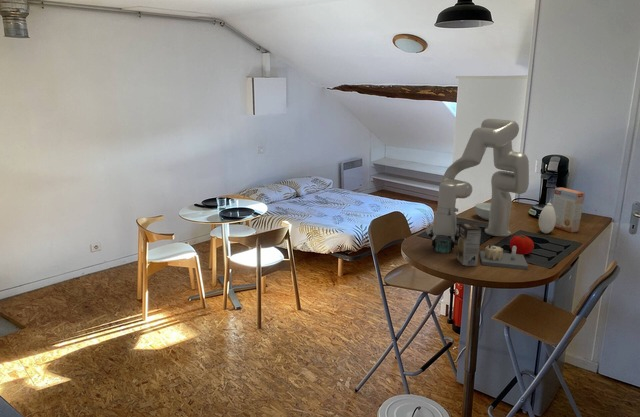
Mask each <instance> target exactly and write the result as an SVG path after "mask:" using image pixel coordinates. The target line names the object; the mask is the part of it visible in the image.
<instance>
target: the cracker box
mask: <svg viewBox="0 0 640 417" xmlns="http://www.w3.org/2000/svg"><path fill="white" fill-rule="evenodd" d="M553 192H554V194H553V200H552V206H553V208H554V210H555V214H556V223H555V226H554V228H556V229H559V230H562V231H565V232H567V233H579V230H580V224H581V218H582V212H583V205H584V199H585V192H583V191H579V190H576V189H575V190H574V189H570V188H566V187H560V186H559V187H554V191H553Z"/></svg>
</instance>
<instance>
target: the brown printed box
mask: <svg viewBox="0 0 640 417" xmlns="http://www.w3.org/2000/svg"><path fill="white" fill-rule="evenodd" d="M458 229H459V233H458V234H457V235H458V239H457V246H456V258H455V259H457V260H458V261H459V263H460V264H461V265H462V266H463V265H465V266H470V267H471V266H473V267H475V266H478V262H479V261H478V260H479V255H480V245H481V244H480V243H481V235H482V228H480V227H479V226H478V225H477V224H475V223H474V222H459V226H458Z"/></svg>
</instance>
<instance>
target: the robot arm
mask: <svg viewBox="0 0 640 417" xmlns="http://www.w3.org/2000/svg"><path fill="white" fill-rule="evenodd" d="M480 124H481V125H480V127H477V128H474V129H473V131H472V133H471V135H470V136H469V139H468V141H467V144H466V145H465V146H466V147H465V148H464V151H463V153H462V155H461V156H460V158H458V159H456V160H455V161H454V162H453V163H451V164H450V165H449V166H448V167H447V169H446V170H445V172H444V174H443V176H442V179H441V182H440V183H439V188H438V196H437V197H438V198H437V210H436V211H435V213H434V216H433V222H432V223H433V224H432V225H430V226H429V227H427V228H426V229H425V233H426V234H427V235H428V236H429V238H430V239H431V240H432V241H431V247H432V248H433V250H434V249H435V241H436V237H437V236H444V237H450V239H451V240H450V242H451V251H453V249H455V244H456V243H455V242H456V241H458V234H459V227H457V213H458V212H459V208H456V203H457V201H456V200H457V199H467V198H469V197H470V196H471V195H472V193H473V186H472V184H471V183H470V182H467V181H464V180H460V179H455V178H456V177H457V175H458V174H459V173H461V172H462V171H464V170H467V169H470V168H473V167H474V168H475V167H477V166H478V165H480V164H481V162H482V159H483V158H484V155H485V153H486V150H487V148H491V149H492V151H493V152H492V153H493V155H492V156H493V166H494V167H495V168H496V170H497V169H498V171H496V172H494V173H493V174H492V176H491V181H490V182H491V184H490V185H491V197H490V198H491V199H490V203H491V207H490V216H489V220H488V226H487V227H485V228H484V233H485V234H486V235H490V236H494V237H501V238H504V237H510V236H511V235H512V232H511V230H509V226H510V217H511V209H512V208H511V207H512V199H513V198H512V196H511V193H513V194H517V195H519V194H520V195H521V194H522V195H523V194H525V193H526V192H527V190H528V189H529V185H530V170H529V169H530V168H529V167H530V164H529V162H530V161H529V157H528V156H527V155H526V154H525V153H523V152H521V151H514V150H513V140H515V139H516V137H517V136H518V135H519V131H520V125H519V124H518V123H517V122H516V121H514V120H510V119H500V118H487V119H484V120H482V122H481V123H480ZM456 212H457V213H456ZM431 231H432V232H431ZM457 233H458V234H457Z"/></svg>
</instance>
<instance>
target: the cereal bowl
mask: <svg viewBox="0 0 640 417" xmlns="http://www.w3.org/2000/svg"><path fill="white" fill-rule="evenodd" d="M490 207H491V202H478V203H475V205H474V212H475V214H476V215H477V216H479V217H480V218H482V219H483V220H485V221H489V216H490Z"/></svg>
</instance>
